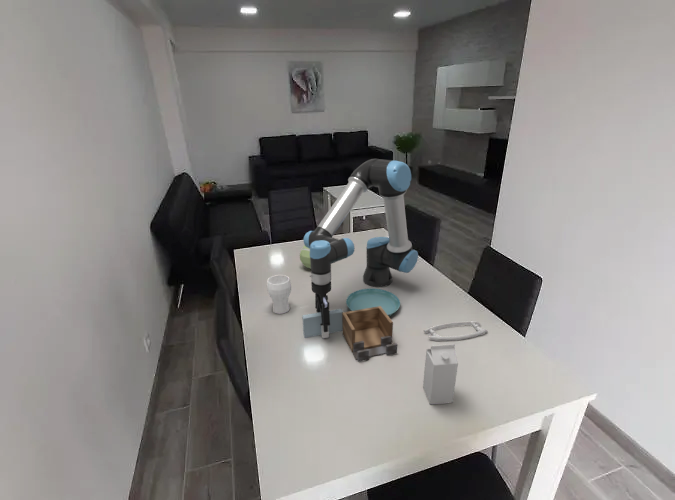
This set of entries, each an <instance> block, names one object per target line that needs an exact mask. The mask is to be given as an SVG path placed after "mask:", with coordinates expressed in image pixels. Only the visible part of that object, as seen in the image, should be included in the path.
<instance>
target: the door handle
mask: <svg viewBox="0 0 675 500" xmlns="http://www.w3.org/2000/svg"><path fill="white" fill-rule="evenodd" d="M461 325H472V326H473V328H474V330H476V331H475V332H471V333H466V334H461V335H451V336H450V335H448V336H447V335H446V336H441V335H440V333H439V334H438V333H437V332H436V331H438V330H441V329H447V327H448V328H454V327H453V326H455V327H462V326H461ZM479 325H481V326H482V324H481V323H480V322H479V321H476V320H471V321H467V320H466V321H453V322H447V323H442V324H437V325H434V326H429V327H428V328H426V329H424V330H423V332H424V334H431V335H428V339H429V340H430V341H434V342H445V341H446V342H450V341H451V342H452V341H463V340H468V338H469V339H472V338H476V337H480V335H481V336H483V334H484V335H485V334H486V333H488V329H486V328H482V327H481V326H479ZM472 326H471V327H472Z"/></svg>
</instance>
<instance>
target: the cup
mask: <svg viewBox="0 0 675 500" xmlns="http://www.w3.org/2000/svg"><path fill="white" fill-rule="evenodd" d="M266 291H267V294H268V296H269V297H270V298H271V301H272V312H273V313H275V314H278V315H279V314H280V315H281V314H285V313H287V312H289V311H290V309H291V308H290V302H289V297H290V294H291V291H292V282H291V280H290V277H289V276H288V275H285V274H276V275H272V276H270V277H268V278H267V282H266Z"/></svg>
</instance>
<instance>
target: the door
mask: <svg viewBox="0 0 675 500" xmlns="http://www.w3.org/2000/svg"><path fill="white" fill-rule="evenodd" d="M343 312H344V311H343V310H342V308H338V309H331V310H329V315H330V325H329V334H332V333H338V332H343V327H342V313H343ZM301 318H302V319H301V320H302V331H303V337H304V338H305V339H306V338H312V337H317V336H322V330H321V325H320V324H321V323H322V318H321V312H319V313H318V312H314V313H309V314H303V315H301Z"/></svg>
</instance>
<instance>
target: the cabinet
mask: <svg viewBox="0 0 675 500" xmlns="http://www.w3.org/2000/svg"><path fill="white" fill-rule="evenodd" d="M342 327H343V331H342V335H343V338H344V340H345V342H346V343H347V346H348V347H349V349H350V351H351V354H352V356H353V357H354V359H355V361H357V362H358V363H359V362H364V361H369V360H370V359H369V358H373V357H378V356H383V355H386V356H387V357H388V356H393V355H397V354H398V342H394V343H393V332H394V331H393V329H394V322H393V320H392V319H391V318H390V316H388V315H387V314H386V312H385V311H384V310H383V309H382V307H381V306H378V307H372V308H366V309H361V310H355V311H350V310H349V311H343V313H342Z"/></svg>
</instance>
